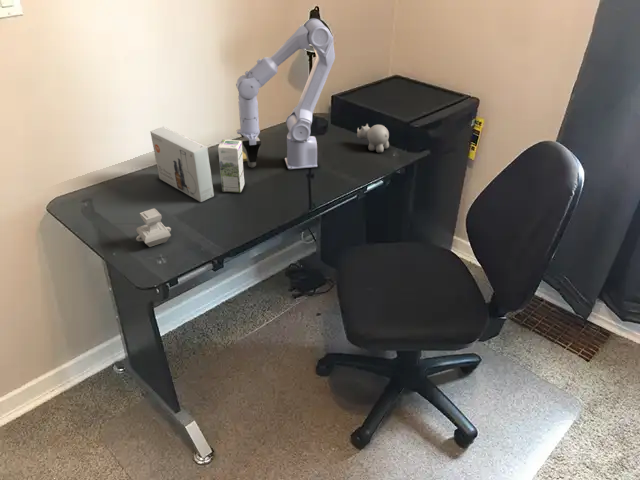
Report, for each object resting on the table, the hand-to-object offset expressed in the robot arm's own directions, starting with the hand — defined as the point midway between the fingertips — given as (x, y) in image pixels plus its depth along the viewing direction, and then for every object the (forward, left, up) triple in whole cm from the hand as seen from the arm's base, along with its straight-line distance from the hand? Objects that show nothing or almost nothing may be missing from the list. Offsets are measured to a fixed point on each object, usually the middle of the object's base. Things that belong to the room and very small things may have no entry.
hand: (251, 157), depth 178 cm
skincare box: (+21, +10, -4) cm, 24 cm away
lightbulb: (0, 0, -4) cm, 4 cm away
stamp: (+29, +38, -4) cm, 48 cm away
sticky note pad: (+5, -8, -3) cm, 10 cm away
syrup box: (+7, +13, -4) cm, 15 cm away
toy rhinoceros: (-42, -8, -4) cm, 43 cm away
